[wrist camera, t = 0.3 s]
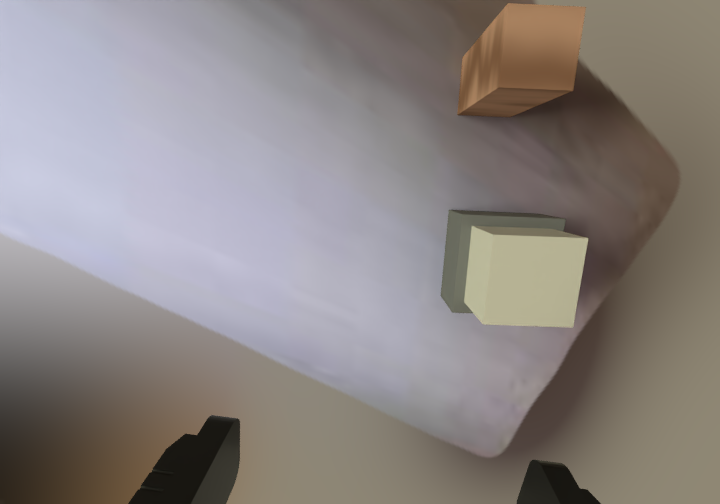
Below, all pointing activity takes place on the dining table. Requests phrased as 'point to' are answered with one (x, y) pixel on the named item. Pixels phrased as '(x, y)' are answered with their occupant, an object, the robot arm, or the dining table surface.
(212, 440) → the robot arm
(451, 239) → the tower base
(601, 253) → the dining table surface
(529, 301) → the tower top
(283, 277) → the dining table surface
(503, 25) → the wooden block
